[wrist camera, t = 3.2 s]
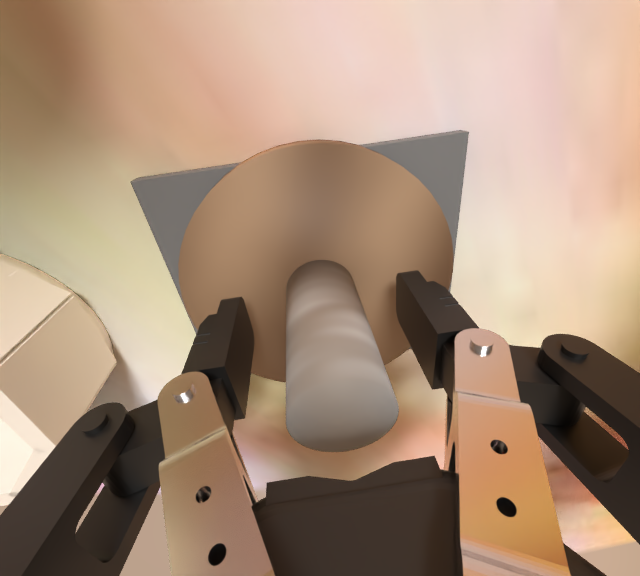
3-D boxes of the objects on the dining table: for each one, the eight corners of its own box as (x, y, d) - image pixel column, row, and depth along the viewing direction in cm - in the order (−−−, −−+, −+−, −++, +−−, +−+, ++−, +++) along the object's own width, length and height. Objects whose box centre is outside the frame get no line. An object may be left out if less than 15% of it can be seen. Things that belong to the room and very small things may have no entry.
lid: (456, 118, 11) (660, 146, 5) (433, 351, 17) (515, 493, 11) (138, 164, 11) (-45, 251, 5) (227, 383, 17) (195, 545, 11)
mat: (460, 130, 12) (468, 132, 11) (439, 335, 17) (444, 343, 16) (137, 178, 11) (130, 181, 11) (217, 370, 17) (215, 378, 16)
